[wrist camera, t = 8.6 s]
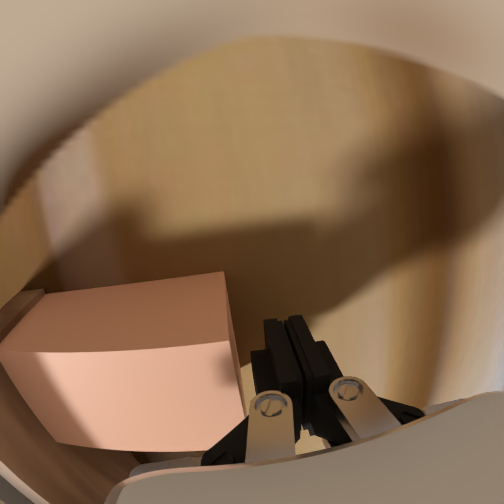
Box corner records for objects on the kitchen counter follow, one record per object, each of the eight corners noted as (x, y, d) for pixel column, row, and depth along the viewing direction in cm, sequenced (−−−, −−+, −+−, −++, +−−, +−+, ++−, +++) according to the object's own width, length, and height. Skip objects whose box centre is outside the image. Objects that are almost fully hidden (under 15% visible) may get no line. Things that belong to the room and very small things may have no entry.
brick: (223, 270, 14) (228, 340, 9) (240, 367, 16) (250, 445, 11) (46, 293, 13) (-6, 350, 8) (84, 377, 15) (56, 442, 10)
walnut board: (43, 288, 13) (-52, 397, 4) (159, 487, 20) (156, 563, 12) (19, 291, 13) (-72, 388, 4) (141, 486, 20) (134, 560, 12)
